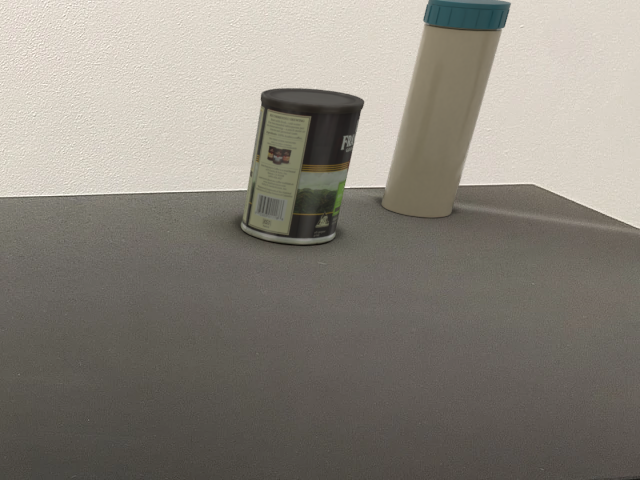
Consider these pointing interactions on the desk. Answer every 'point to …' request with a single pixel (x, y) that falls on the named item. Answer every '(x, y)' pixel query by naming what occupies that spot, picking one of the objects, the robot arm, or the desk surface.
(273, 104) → the coffee can
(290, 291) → the desk surface
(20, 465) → the desk surface
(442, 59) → the jar
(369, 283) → the desk surface
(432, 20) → the lid
